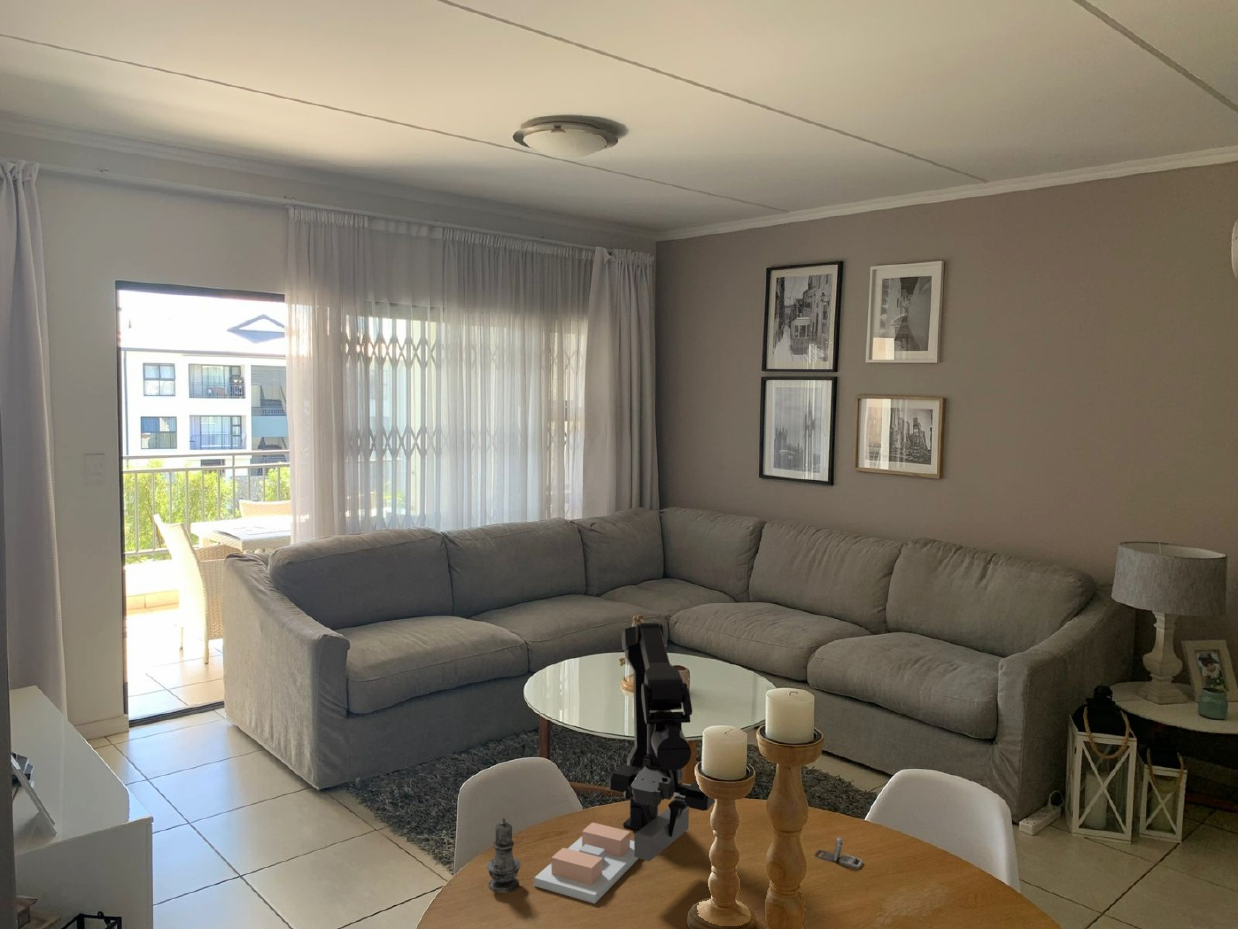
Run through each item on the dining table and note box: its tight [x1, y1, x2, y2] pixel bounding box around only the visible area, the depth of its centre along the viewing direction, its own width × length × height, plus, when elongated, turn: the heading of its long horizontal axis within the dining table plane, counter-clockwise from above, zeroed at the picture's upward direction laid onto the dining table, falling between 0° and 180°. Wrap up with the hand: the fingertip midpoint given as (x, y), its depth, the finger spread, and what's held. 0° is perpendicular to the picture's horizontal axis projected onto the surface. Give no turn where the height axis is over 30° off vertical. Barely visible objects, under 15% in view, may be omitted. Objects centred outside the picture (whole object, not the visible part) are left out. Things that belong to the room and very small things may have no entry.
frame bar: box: [633, 807, 690, 862], centre depth 160 cm, size 14×3×4 cm, turn 148°
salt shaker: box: [486, 817, 522, 894], centre depth 159 cm, size 6×6×12 cm
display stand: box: [533, 822, 640, 905], centre depth 165 cm, size 20×12×4 cm, turn 153°
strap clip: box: [813, 837, 863, 870], centre depth 169 cm, size 8×3×4 cm, turn 58°
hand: (662, 833), depth 160 cm, fingers closed on frame bar, 3 cm apart
